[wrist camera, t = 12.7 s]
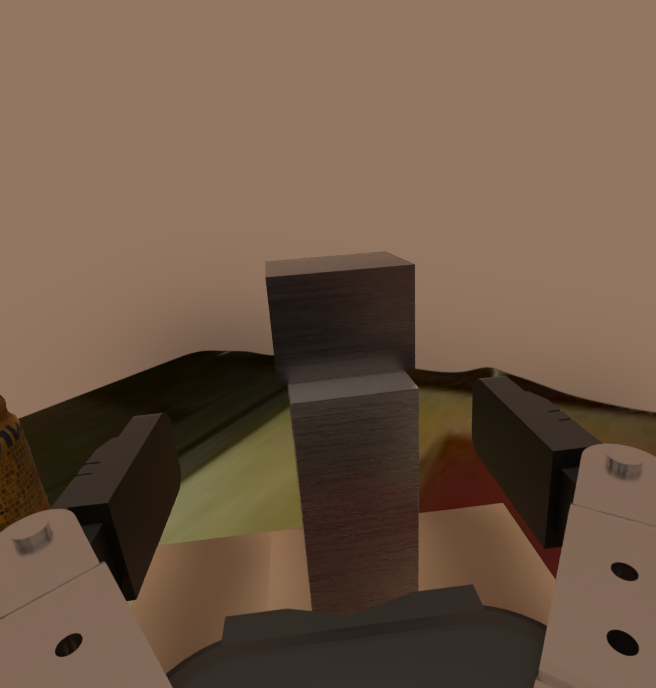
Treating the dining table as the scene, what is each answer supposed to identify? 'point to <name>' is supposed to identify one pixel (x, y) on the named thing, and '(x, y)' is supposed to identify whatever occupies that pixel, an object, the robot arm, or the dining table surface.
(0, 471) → the condiment
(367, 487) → the metal bar
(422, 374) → the dining table surface
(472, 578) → the tongs holder
